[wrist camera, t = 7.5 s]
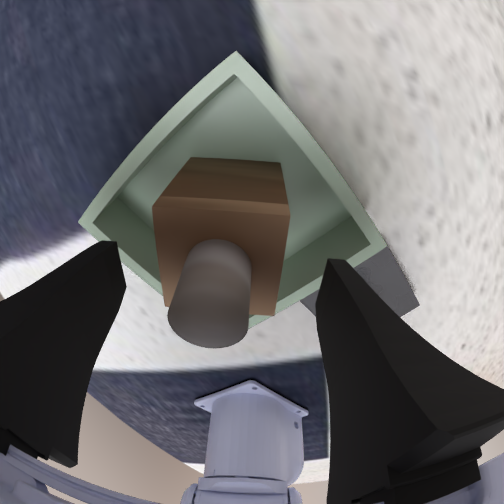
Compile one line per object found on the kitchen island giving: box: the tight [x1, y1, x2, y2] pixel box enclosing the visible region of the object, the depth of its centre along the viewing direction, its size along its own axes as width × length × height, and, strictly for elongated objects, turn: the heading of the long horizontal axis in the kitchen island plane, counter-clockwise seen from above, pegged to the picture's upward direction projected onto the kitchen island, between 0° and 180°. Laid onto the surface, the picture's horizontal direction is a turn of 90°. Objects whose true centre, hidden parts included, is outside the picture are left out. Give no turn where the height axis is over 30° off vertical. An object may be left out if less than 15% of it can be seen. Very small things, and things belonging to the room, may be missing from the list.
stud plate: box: [300, 246, 420, 317], centre depth 16 cm, size 6×6×5 cm
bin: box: [78, 51, 387, 329], centre depth 13 cm, size 10×10×4 cm
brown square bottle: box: [152, 157, 290, 348], centre depth 11 cm, size 4×4×8 cm
